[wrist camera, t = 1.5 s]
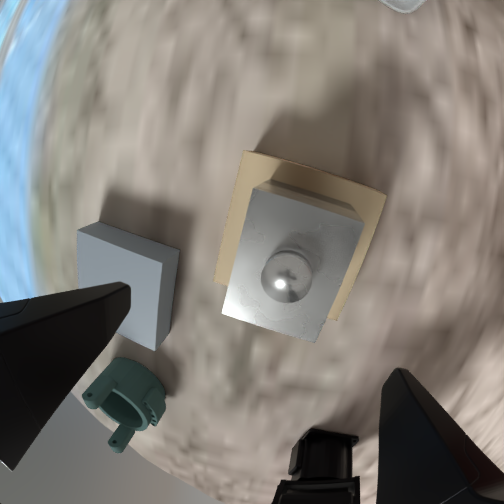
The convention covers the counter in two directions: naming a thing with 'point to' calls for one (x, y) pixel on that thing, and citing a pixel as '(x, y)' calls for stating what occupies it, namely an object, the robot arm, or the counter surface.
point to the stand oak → (269, 167)
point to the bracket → (127, 399)
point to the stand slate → (131, 277)
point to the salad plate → (403, 5)
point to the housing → (291, 259)
